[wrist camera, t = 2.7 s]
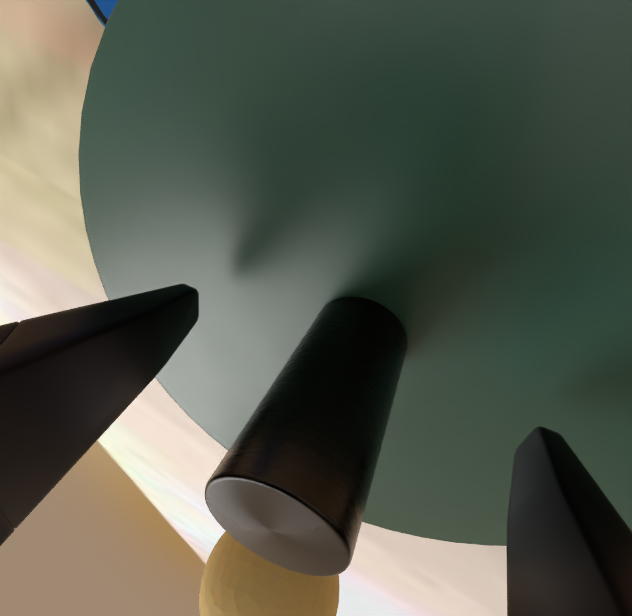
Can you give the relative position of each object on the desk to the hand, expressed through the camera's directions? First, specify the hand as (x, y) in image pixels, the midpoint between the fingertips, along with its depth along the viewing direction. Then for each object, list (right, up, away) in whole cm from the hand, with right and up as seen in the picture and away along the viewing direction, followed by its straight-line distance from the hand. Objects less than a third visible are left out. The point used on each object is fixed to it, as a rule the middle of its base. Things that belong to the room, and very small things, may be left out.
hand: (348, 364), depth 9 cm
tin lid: (+1, +1, +1) cm, 2 cm away
